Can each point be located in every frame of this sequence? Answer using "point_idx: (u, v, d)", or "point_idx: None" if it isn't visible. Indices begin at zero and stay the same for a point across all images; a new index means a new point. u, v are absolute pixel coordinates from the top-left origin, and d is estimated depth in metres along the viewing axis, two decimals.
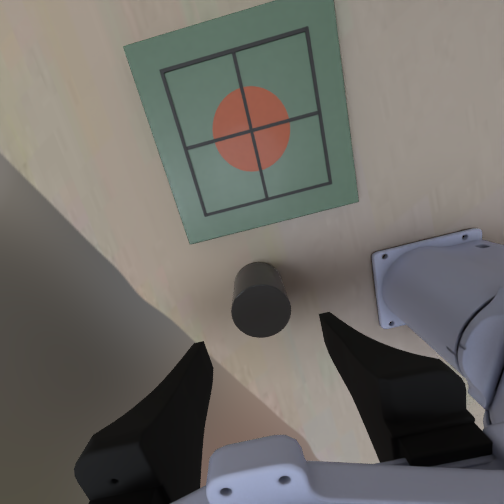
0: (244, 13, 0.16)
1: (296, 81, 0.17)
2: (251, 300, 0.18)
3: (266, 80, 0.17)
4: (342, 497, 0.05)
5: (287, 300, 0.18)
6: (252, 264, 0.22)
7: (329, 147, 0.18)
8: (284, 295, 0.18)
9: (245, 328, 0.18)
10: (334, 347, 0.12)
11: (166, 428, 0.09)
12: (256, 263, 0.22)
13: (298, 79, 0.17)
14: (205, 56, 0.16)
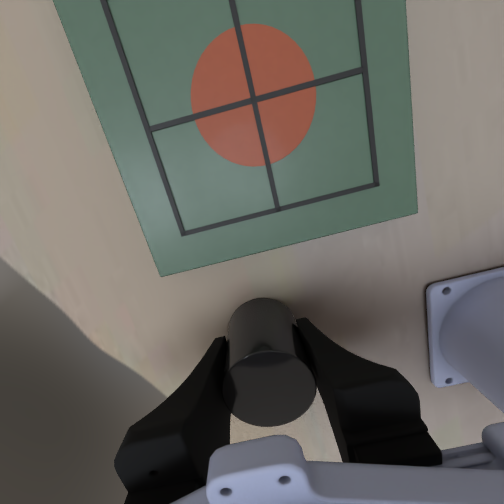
0: None
1: (327, 15, 0.10)
2: (253, 374, 0.11)
3: (279, 14, 0.10)
4: (343, 498, 0.05)
5: (311, 373, 0.11)
6: (255, 302, 0.15)
7: (377, 128, 0.11)
8: (307, 366, 0.11)
9: (244, 414, 0.12)
10: (307, 353, 0.13)
11: (201, 421, 0.09)
12: (260, 300, 0.15)
13: (332, 12, 0.10)
14: None
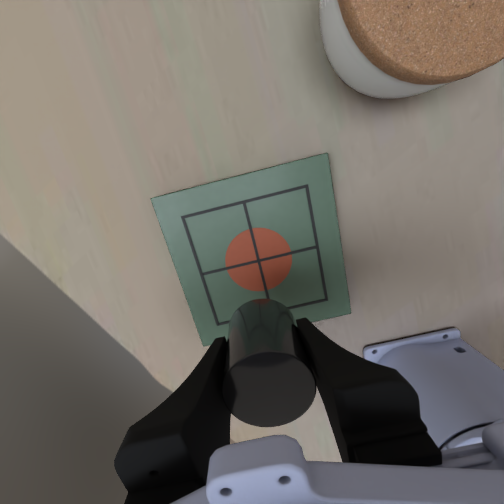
0: (254, 174, 0.19)
1: (297, 223, 0.20)
2: (253, 374, 0.11)
3: (272, 223, 0.20)
4: (342, 497, 0.05)
5: (311, 374, 0.11)
6: (254, 302, 0.15)
7: (325, 272, 0.21)
8: (306, 366, 0.11)
9: (244, 414, 0.12)
10: (307, 353, 0.13)
11: (201, 421, 0.09)
12: (260, 301, 0.15)
13: (299, 222, 0.20)
14: (220, 205, 0.19)
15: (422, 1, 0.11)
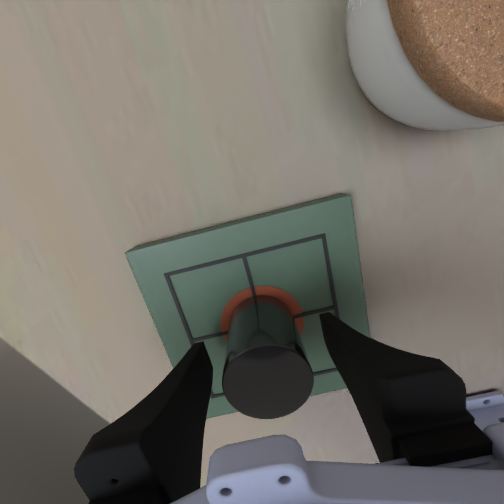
0: (256, 222, 0.14)
1: (310, 280, 0.16)
2: (252, 367, 0.11)
3: (279, 280, 0.16)
4: (342, 497, 0.05)
5: (309, 367, 0.11)
6: (254, 298, 0.15)
7: None
8: (304, 360, 0.11)
9: (243, 407, 0.12)
10: (334, 347, 0.12)
11: (166, 428, 0.09)
12: (259, 297, 0.15)
13: (313, 278, 0.16)
14: (213, 260, 0.15)
15: None
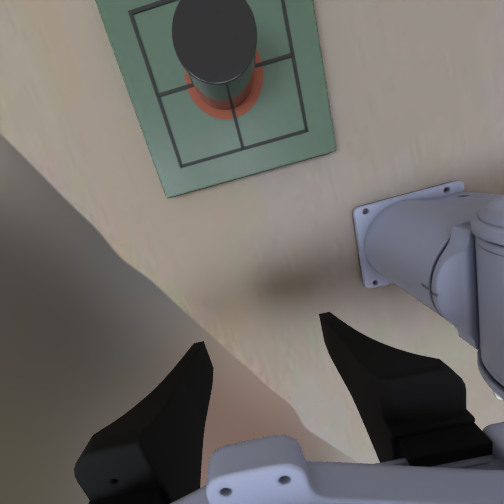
0: None
1: (267, 22, 0.17)
2: (199, 11, 0.12)
3: None
4: (342, 497, 0.05)
5: (251, 12, 0.12)
6: None
7: (304, 92, 0.18)
8: (246, 3, 0.12)
9: (193, 66, 0.13)
10: (334, 347, 0.12)
11: (167, 428, 0.09)
12: None
13: (270, 19, 0.17)
14: None
15: None
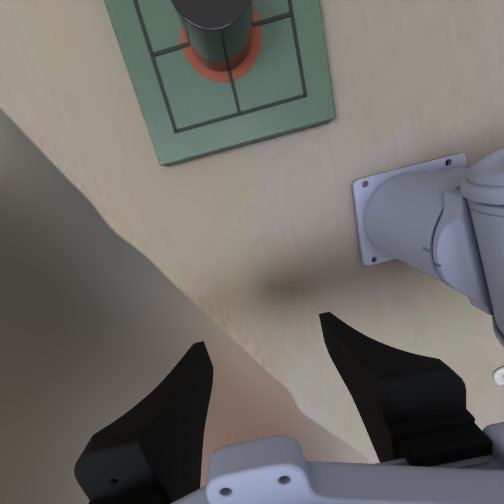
0: None
1: None
2: None
3: None
4: (342, 497, 0.05)
5: None
6: None
7: (303, 54, 0.17)
8: None
9: (187, 9, 0.12)
10: (334, 347, 0.12)
11: (166, 428, 0.09)
12: None
13: None
14: None
15: None
